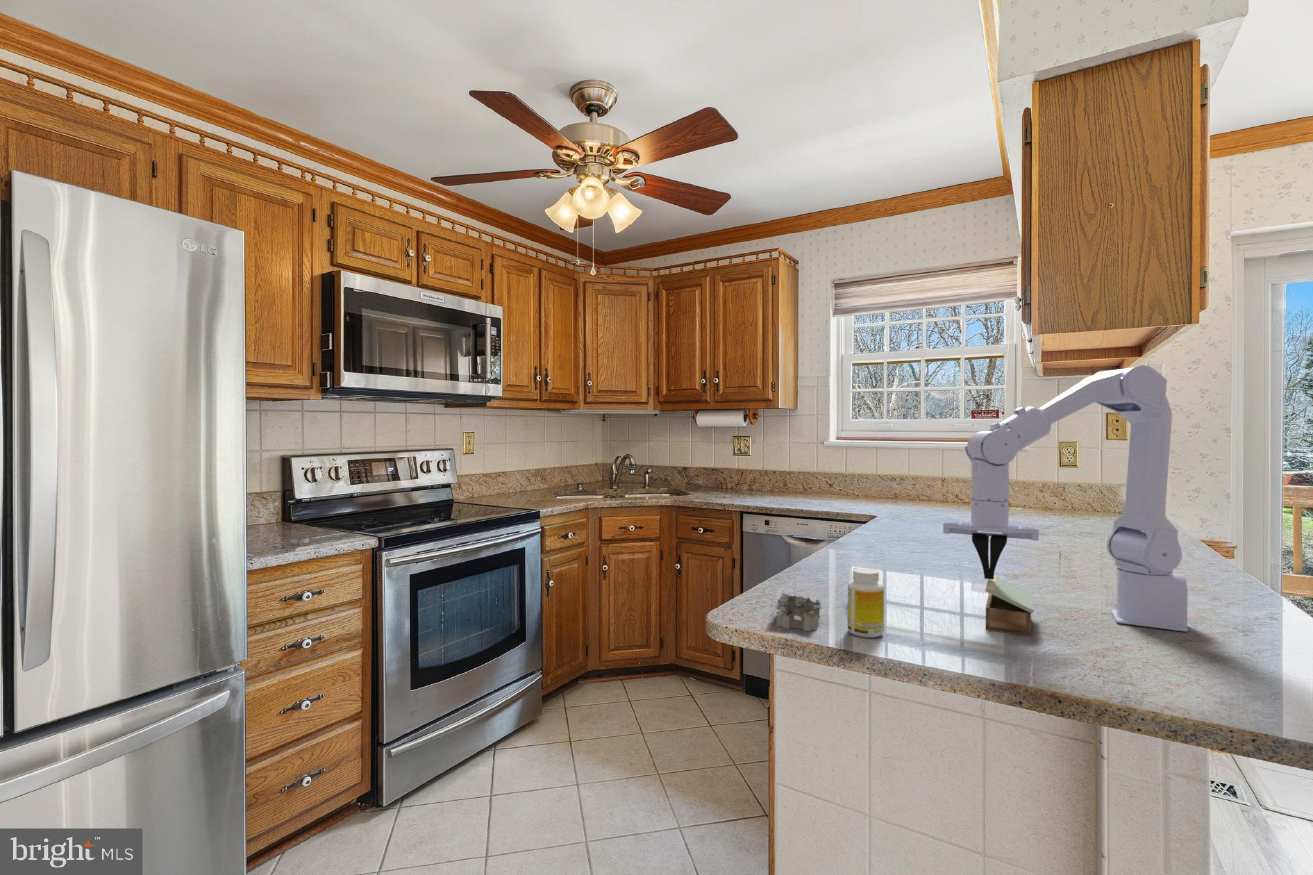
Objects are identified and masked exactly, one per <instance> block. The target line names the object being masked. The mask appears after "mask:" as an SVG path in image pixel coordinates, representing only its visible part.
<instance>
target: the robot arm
mask: <svg viewBox="0 0 1313 875" xmlns="http://www.w3.org/2000/svg"><path fill="white" fill-rule="evenodd" d="M1167 381H1168V380H1167V379H1166V378H1165V377H1164V376H1163V375H1162V374H1161V373H1160V372H1159V371H1157V370H1156V369H1155V368H1154V367H1151V366H1149V365H1135V366H1133V367H1127V368H1118V369H1110V370H1106V369H1104V370H1100V371H1098V372H1096V373H1095V374H1093V375H1090V376H1087V377H1085V378H1083V379H1082V380H1081V381H1080V382H1079V383H1077V384H1075V385H1073V386H1072V387H1070V388H1069V389H1068V390H1066V391H1064V392H1062V393H1061V394H1059V395H1057V396H1056V397H1054V398H1053V399H1051V400H1050V401H1048V402H1047V403H1045V404H1044V405H1042V406H1041V407H1034V406H1027V407H1025V406H1022V407H1021V406H1020V407H1018V408H1016V409H1013V413H1014V414H1012V415H1010V416H1008V417H1007V418H1006V419H1004V420H1002V421H1000V422H993V423H991V424H990V426H989V427H990V428H989V431H988V430H984V431H983V430H982V431H978V432H975V433H974V434H972V435H971V436H970V437H969V440H968V441H967V445H965V446H964V452H965V454H966V456H967V458H968V459H969V461H970V464H971V484H970V485H971V489H970V490H971V491H970V492H971V493H970V494H971V497H970V498H971V501H970V502H971V503H970V504H971V505H970V506H971V507H970V508H971V510H970V512H971V513H970V518H971V520H970V521H968V522H965V521H946V520H945V521H943V522H942V527H943V528H942V533H943V534H948V535H949V534H950V535H951V534H955V535H957V534H958V535H968V536H969V535H970V536H971V542H972V544H973V546H974V547H975V550H976V552H977V555H978V556H979V560H980V564H981V567H982V570H983V571H982V572H983V576H984V577H983V578H984V579H985V580H988V579H994V575H995V572H996V568H997V564H998V561H999V559H1000V556H1001V555H1002V552H1003V550H1004V549H1005V547H1006V545H1007V541H1008V539H1021V540H1031V541H1037V542H1038V541H1039V531H1040V530H1039V527H1031V526H1022V525H1012V524H1009V508H1010V507H1009V503H1010V502H1009V498H1010V497H1009V493H1010V491H1009V488H1010V486H1009V485H1010V482H1009V481H1010V478H1009V477H1010V476H1009V475H1010V463H1011V462H1012V461H1013V460H1015V458H1016V456H1017V453H1018V452H1020V451H1021V450H1024V448H1026V447H1028V446H1030V445H1032V444H1033V443H1035V442H1038V441H1039V440H1041V439H1043V438H1044V437H1046V436H1048V435H1049V434H1050V432H1051V429H1052V425H1053V424H1055V423H1056V422H1059V421H1060V420H1062V419H1064V418H1066V417H1068V416H1070V415H1072V414H1074V413H1077V412H1078V411H1080V410H1082V409H1084V408H1086V407H1088V406H1091V404H1095V403H1096V404H1098V405H1100V406H1101V407H1104V408H1106V409H1109V410H1111V411H1113V412H1115V413H1118V414H1119V415H1120V416H1121V417H1122V418H1124V419H1125V420H1126V421H1127V422H1128V423H1129V424H1130V430H1129V431H1130V433H1129V434H1130V435H1129V446H1128V447H1129V448H1128V462H1127V474H1126V487H1125V488H1126V489H1125V501H1124V512H1123V513H1122V514H1120V515H1119V516H1118V517H1117V518H1116V519H1114V520H1113V525H1112V526H1113V528H1112V531H1111V533H1110V534H1109V536H1108V537H1107V542H1106V549H1107V552H1108V554H1109V556H1110V557H1111V558H1112V559H1113V560H1114V566H1116V609H1114V608H1113V609H1111V610H1110V612H1111V614H1112V616H1113V618H1114V621H1116V623H1118V624H1123V625H1124V624H1126V625H1133V626H1140V627H1149V628H1156V629H1162V630H1172V631H1177V632H1179V631H1180V632H1186V633H1187V632H1188V631H1189V628H1188V598H1189V597H1188V585H1187V579H1186V577H1185V575H1184V574H1182V573H1175V572H1174V570H1176V569H1177V568H1178V567H1179V566H1180V564H1181V561H1182V558H1183V551H1182V547H1181V545H1180V543H1179V539H1178V536H1179V535H1178V534H1179V531H1178V529H1177V527H1176V526H1174V525H1173V523H1171V521H1170V520H1168V518H1167V517H1166V504H1167V503H1166V502H1167V492H1168V491H1167V489H1168V476H1169V475H1168V474H1169V466H1170V465H1169V463H1170V462H1169V461H1170V451H1171V450H1170V448H1171V438H1172V437H1171V436H1172V435H1171V434H1172V422H1173V412H1172V409H1171V406H1170V403H1169V400H1168V398H1167V395H1166V394H1167V383H1168V382H1167ZM989 550H990V551H989Z"/></svg>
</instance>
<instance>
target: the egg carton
mask: <svg viewBox="0 0 1313 875" xmlns="http://www.w3.org/2000/svg"><path fill="white" fill-rule="evenodd" d="M822 607H823V606H822V605H821V601H820V600H819V599H816V600H815V601H814V600H813V601H812V600H811V598H810V597H809V596H808V597H804V596H798V595H795V594H794V595H790V594H787V593H786V592H782V594H781V595H780V597H779V599H777V601H776V603H775V605H773V609H774V611H775V612H776V626H777V627H781V628H783V629H786V630H787V629H788V630H790V629H794V628H797V629H801V630H803V631H804V632H805V631H807V632H810V631H812V630H813V631H814V630H818V626H819V623H820V622H819V620H820V611H821V609H822ZM789 612H791V614H789V615H788V613H789Z"/></svg>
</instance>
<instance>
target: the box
mask: <svg viewBox="0 0 1313 875" xmlns="http://www.w3.org/2000/svg"><path fill="white" fill-rule="evenodd" d="M1031 617H1032V613H1030V612H1028V611H1026V610H1024V609H1022V608H1019V607H1017V606H1015V605H1013V604H1011V603H1009V602H1007V601H1005V600H1003V599H1001V598H999V597H996V596H994V595H992V594H990V593H988V595H987V600H986V606H985V630H987V631H992V632H999V633H1007V634H1011V635H1019V636H1027V637H1031V636H1032V634H1031V632H1032V631H1031V629H1032V626H1031V624H1032V621H1031V620H1032V618H1031Z"/></svg>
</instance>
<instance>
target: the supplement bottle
mask: <svg viewBox="0 0 1313 875" xmlns="http://www.w3.org/2000/svg"><path fill="white" fill-rule="evenodd" d="M853 569H854V568H853ZM879 581H880V576H879V571H878V570H877V569H874V568H866V567H864V568H863V567H858V568H857V569H854V570H852V580H850V581H849V582H848V584H847V629H848V632H849V633H850V634H852V635H854V636H856V637H861V638H871V639H872V638H878V637H881V636H882V635H883V634H884V630H885V624H884V622H885V619H884V616H885V614H884V611H885V608H884V606H885V604H884V602H885V600H884V599H885V597H884V596H885V594H884V592H885V588H884V585H883V583H881V582H879Z"/></svg>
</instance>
